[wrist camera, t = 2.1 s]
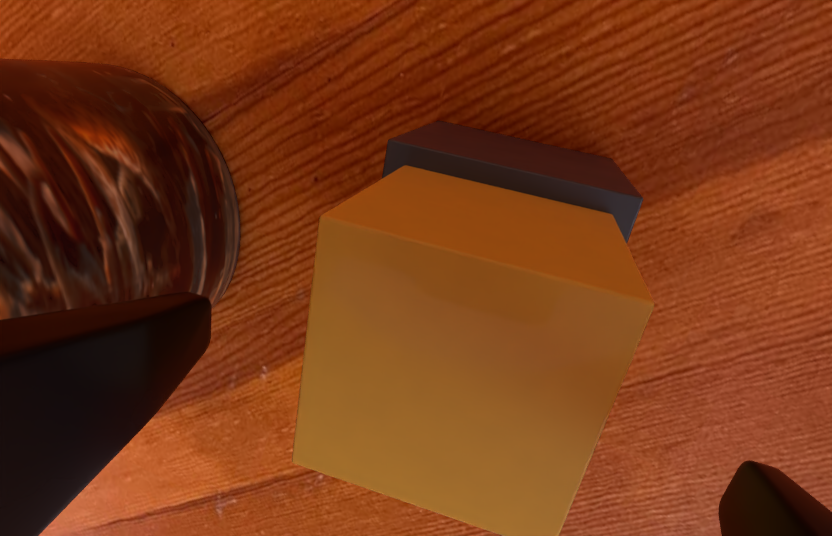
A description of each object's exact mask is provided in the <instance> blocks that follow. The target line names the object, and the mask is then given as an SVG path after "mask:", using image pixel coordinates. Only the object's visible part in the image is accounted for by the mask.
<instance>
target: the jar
mask: <svg viewBox="0 0 832 536" xmlns="http://www.w3.org/2000/svg"><path fill="white" fill-rule="evenodd" d="M239 248H240V216H239V208H238V202H237V197H236V193H235V189H234V185H233V182H232V179H231V176H230V173H229V171H228V168H227V166H226V164H225V161H224V159H223V157H222V155H221V153H220V151H219V149H218V147H217V146H216V144H215V142H214V140H213V139H212V137H211V136H210V134H209V133H208V131H207V130H206V128H205V127H204V125H203V124H202V123H201V122H200V120H199V119H198V118H197V117H196V115H195V114H194V113H193V112H192V111H191V110H190V109H189V108H188V107H187V106H186V105H185V104H184V103H183V102H182V101H181V100H180V99H179V98H178V97H176V96H175V95H174V94H173V93H171V92H170V91H169V90H168V89H166V88H165V87H163V86H162V85H160V84H159V83H157V82H156V81H154V80H152V79H150V78H148V77H146V76H145V75H142V74H140V73H137V72H135V71H133V70H129V69H126V68H123V67H118V66H113V65H109V64H99V63H86V62H68V61H47V60H23V59H0V320H3V319H9V318H16V317H22V316H29V315H35V314H42V313H49V312H55V311H62V310H68V309H75V308H81V307H88V306H95V305H101V304H108V303H114V302H121V301H127V300H134V299H140V298H147V297H154V296H160V295H167V294H173V293H180V292H192V293H195V294H199V295H202V296H205V297H207V298H208V299H209V300H210V301H211V306H212V308H213V307H214V306H215V305H216V304H217V303H218V302H219V300H220V299H221V297H222V296H223V295H224V293H225V291H226V289H227V288H228V286H229V284H230V281H231V279H232V277H233V274H234V271H235V268H236V264H237V260H238V255H239Z"/></svg>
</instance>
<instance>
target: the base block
mask: <svg viewBox="0 0 832 536" xmlns="http://www.w3.org/2000/svg"><path fill="white" fill-rule="evenodd" d="M405 165H407V166H411V167H416V168H420V169H424V170H428V171H432V172H437V173H441V174H445V175H449V176H453V177H458V178H462V179H466V180H470V181H474V182H479V183H483V184H487V185H491V186H495V187H500V188H504V189H508V190H512V191H517V192H521V193H525V194H529V195H533V196H538V197H542V198H546V199H550V200H554V201H559V202H563V203H567V204H571V205H575V206H580V207H584V208H588V209H592V210H596V211H601V212H605V213H609V214H612V215H613V216H614V218H615V221H616V223H617V225H618V227H619V229H620V231H621V233H622V235H623V237H624V240H625V242H626V244H627V242H628V239H629V236H630V234H631V231H632V228H633V226H634V223H635V220H636V218H637V215H638V212H639V209H640V207H641V204H642V201H643V197H642V196H641V195H640V194H639V192H638V191H637V190H636V189H635V187H634V186H633V185H632V184H631V182H630V181H629V180H628V179H627V177H626V176H625V175H624V174H623V172H622V171H621V170H620V168H619V167H618V166H617V165H616V163H615V162H614V161H613V160H612V159H610V158H606V157H601V156H597V155H592V154H588V153H583V152H579V151H574V150H570V149H565V148H561V147H556V146H551V145H547V144H542V143H538V142H533V141H529V140H524V139H520V138H515V137H511V136H506V135H502V134H497V133H493V132H488V131H484V130H479V129H475V128H470V127H465V126H461V125H456V124H452V123H447V122H443V121H436V122H434V123H431V124H428V125H426V126H423V127H420V128H418V129H415V130H412V131H410V132H407V133H405V134H402V135H399V136H397V137H394V138H391V139H389V140H388V144H387V150H386V157H385V163H384V169H383V176H382V178H384V177H386V176H387V175H389V174H391V173H392V172H394V171H396V170H397V169H399V168H401V167H402V166H405Z"/></svg>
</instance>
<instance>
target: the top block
mask: <svg viewBox="0 0 832 536" xmlns="http://www.w3.org/2000/svg"><path fill="white" fill-rule="evenodd" d="M653 308H654V301H653V299H652V297H651V294H650V292H649V290H648V288H647V286H646V284H645V282H644V280H643V278H642V275H641V273H640V271H639V269H638V267H637V265H636V263H635V261H634V259H633V256H632V254H631V252H630V250H629V248H628V246H627V244H626V242H625V240H624V237H623V235H622V233H621V231H620V229H619V227H618V225H617V223H616V221H615V218H614V216H613V215H612V214H609V213H605V212H601V211H596V210H592V209H588V208H584V207H580V206H575V205H571V204H567V203H563V202H559V201H554V200H550V199H546V198H542V197H538V196H533V195H529V194H525V193H521V192H517V191H512V190H508V189H504V188H500V187H495V186H491V185H487V184H483V183H479V182H474V181H470V180H466V179H462V178H458V177H453V176H449V175H445V174H441V173H437V172H432V171H428V170H424V169H420V168H416V167H411V166H407V165H405V166H402V167H401V168H399V169H397V170H396V171H394V172H392V173H391V174H389V175H387V176H386V177H384V178H382V179H381V180H379V181H377V182H376V183H374V184H372V185H371V186H369V187H367V188H366V189H364V190H362V191H361V192H359V193H357V194H356V195H354V196H352V197H351V198H349V199H347V200H346V201H344V202H342V203H341V204H339V205H337V206H336V207H334V208H332V209H331V210H329V211H327V212H326V213H324V214H322V215H321V216H320V218H319V226H318V234H317V243H316V252H315V261H314V270H313V278H312V287H311V296H310V305H309V314H308V322H307V331H306V340H305V349H304V358H303V366H302V375H301V384H300V393H299V402H298V410H297V419H296V428H295V437H294V446H293V454H292V462H293V463H294V464H297V465H300V466H303V467H306V468H309V469H312V470H315V471H317V472H320V473H323V474H326V475H329V476H332V477H335V478H338V479H341V480H343V481H346V482H349V483H352V484H355V485H358V486H361V487H364V488H367V489H369V490H372V491H375V492H378V493H381V494H384V495H387V496H390V497H393V498H395V499H398V500H401V501H404V502H407V503H410V504H413V505H416V506H419V507H421V508H424V509H427V510H430V511H433V512H436V513H439V514H442V515H445V516H447V517H450V518H453V519H456V520H459V521H462V522H465V523H468V524H471V525H473V526H476V527H479V528H482V529H485V530H488V531H491V532H494V533H497V534H500V535H502V536H559V534H560V531H561V529H562V527H563V524H564V522H565V519H566V517H567V515H568V512H569V510H570V507H571V505H572V503H573V500H574V498H575V495H576V493H577V491H578V488H579V486H580V483H581V481H582V479H583V476H584V474H585V471H586V469H587V467H588V464H589V462H590V459H591V457H592V455H593V452H594V450H595V447H596V445H597V443H598V440H599V438H600V435H601V433H602V431H603V428H604V426H605V423H606V421H607V419H608V416H609V414H610V411H611V409H612V407H613V404H614V402H615V399H616V397H617V395H618V392H619V390H620V387H621V385H622V383H623V380H624V378H625V375H626V373H627V371H628V368H629V366H630V363H631V361H632V359H633V356H634V354H635V351H636V349H637V347H638V344H639V342H640V339H641V337H642V335H643V332H644V330H645V327H646V325H647V323H648V320H649V318H650V315H651V313H652V311H653Z"/></svg>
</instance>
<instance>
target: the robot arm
mask: <svg viewBox="0 0 832 536" xmlns="http://www.w3.org/2000/svg"><path fill="white" fill-rule="evenodd" d="M211 311H212V306H211V301H210V300H209V299H208V298H207V297H205V296H202V295H199V294H195V293H192V292H180V293H173V294H167V295H160V296H154V297H147V298H140V299H134V300H127V301H121V302H114V303H108V304H101V305H95V306H88V307H81V308H75V309H68V310H62V311H55V312H49V313H42V314H35V315H29V316H22V317H16V318H9V319H3V320H0V536H38V535H39V534H40V533H41V532H42V531H43V530H44V529H45V528H46V527H47V526H48V525H49V524H50V523H51V522H52V521H53V520H54V519H55V518H56V517H57V516H58V515H59V514H60V513H61V512H62V511H63V510H64V509H65V508H66V507H67V505H68V504H69V503H70V502H71V501H72V500H73V499H74V498H75V497H76V496H77V495H78V494H79V493H80V492H81V491H82V490H83V489H84V488H85V487H86V486H87V485H88V484H89V483H90V482H91V481H92V480H93V479H94V478H95V477H96V476H97V475H98V473H99V472H100V471H101V470H102V469H103V468H104V467H105V466H106V465H107V464H108V463H109V462H110V461H111V460H112V459H113V458H114V457H115V456H116V455H117V454H118V453H119V452H120V451H121V450H122V449H123V448H124V447H125V446H126V445H127V444H128V443H129V441H130V440H131V439H132V438H133V437H134V436H135V435H136V434H137V433H138V432H139V431H140V430H141V429H142V428H143V427H144V426H145V425H146V424H147V423H148V422H149V421H150V419H151V418H152V417H153V416H154V415H155V414H156V413H157V412H158V410H159V409H160V408H161V407H162V406H163V404H164V403H165V402H166V401H167V399H168V398H169V397H170V396H171V394H172V393H173V392H174V390H175V389H176V388H177V387H178V385H179V384H180V383H181V382H182V380H183V379H184V378H185V377H186V375H187V374H188V373H189V371H190V370H191V369H192V368H193V366H194V365H195V364H196V363H197V361H198V360H199V359H200V358H201V356H202V355H203V354H204V353H205V351H206V350H207V348H208V346H209V343H210V339H211ZM719 520H720V527H721V534H722V536H832V512H831V511H830V510H828V509H827V508H826V507H825V506H824V505H822V504H821V503H820V502H819V501H817V500H816V499H815V498H814V497H812V496H811V495H810V494H809V493H807V492H806V491H805V490H804V489H803V488H801V487H800V486H799V485H798V484H796V483H795V482H794V481H793V480H791V479H790V478H789V477H788V476H786V475H785V474H784V473H783V472H782V471H780V470H779V469H777V468H775V467H772V466H768V465H765V464H762V463H758V462H755V461H750V460H749V461H745V462H743V463H742V464H741V465H740V467H739V468H738V470H737V472H736V473H735V475H734V477H733V479H732V480H731V482H730V484H729V486H728V487H727V489H726V491H725V493H724V494H723V496H722V498H721V501H720V504H719Z"/></svg>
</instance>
